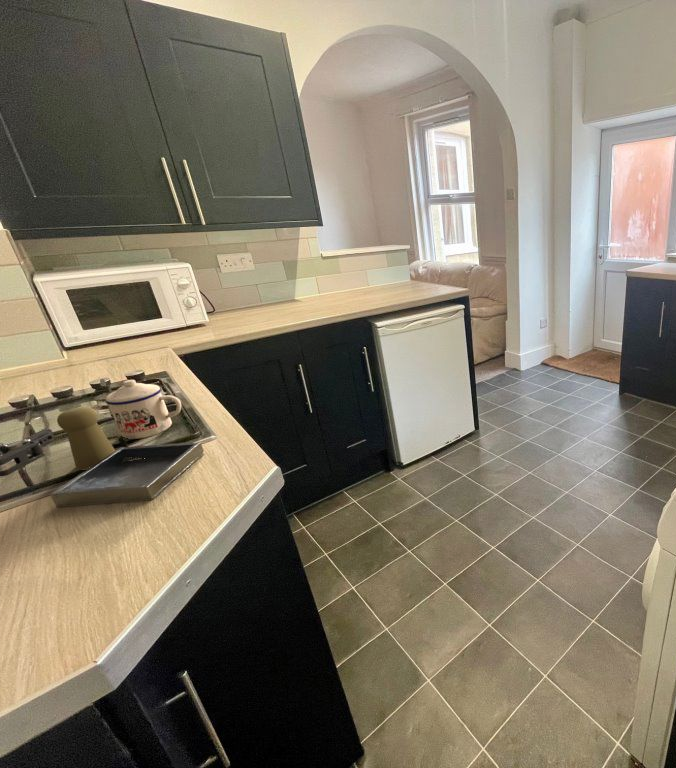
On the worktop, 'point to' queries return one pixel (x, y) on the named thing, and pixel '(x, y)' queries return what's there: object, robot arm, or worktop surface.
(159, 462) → the dark grey square tray
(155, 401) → the teacup with lid
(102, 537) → the worktop surface
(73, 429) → the cork
